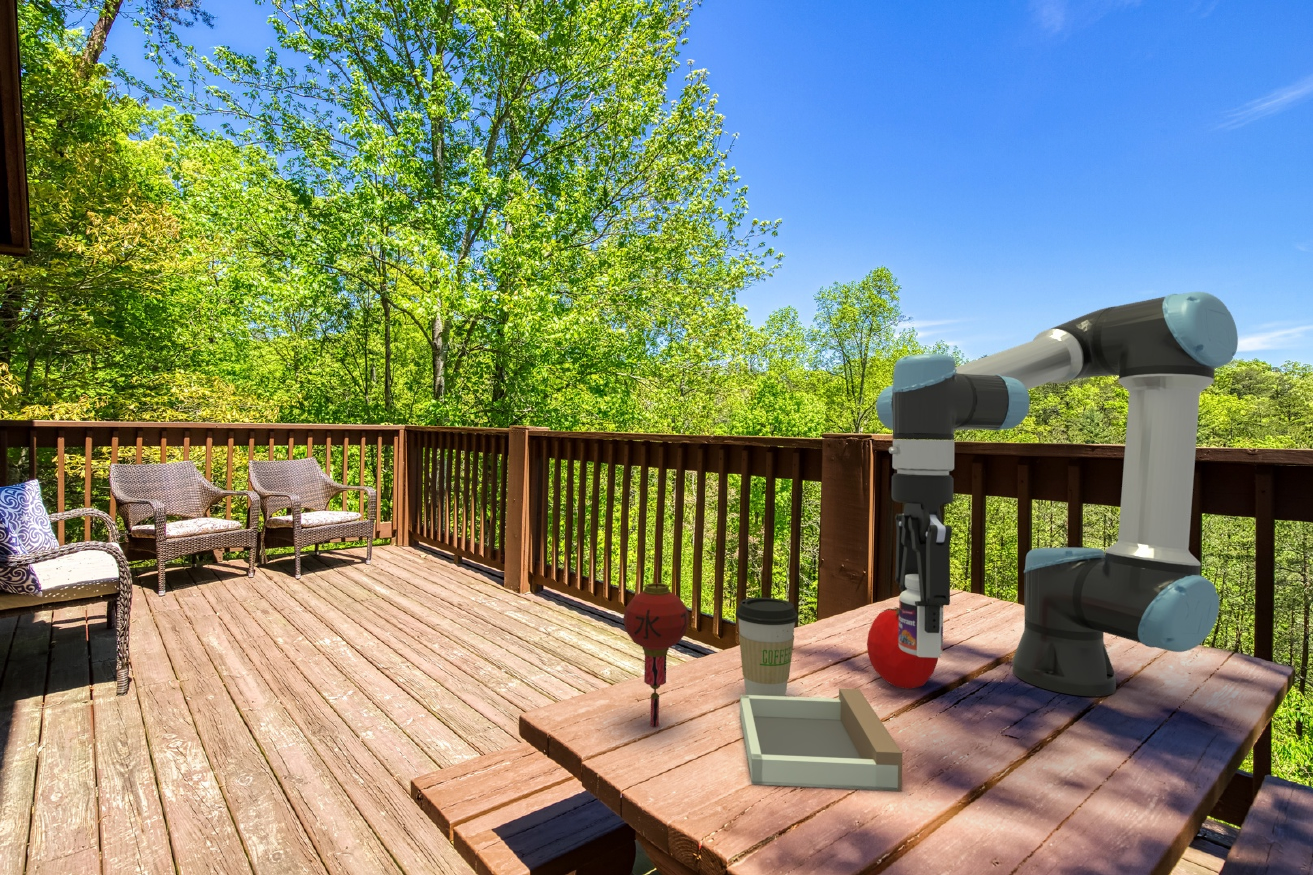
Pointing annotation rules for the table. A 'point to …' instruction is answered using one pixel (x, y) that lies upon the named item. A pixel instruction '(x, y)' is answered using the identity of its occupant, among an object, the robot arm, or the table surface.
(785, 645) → the coffee cup
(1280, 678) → the table surface
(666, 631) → the lantern
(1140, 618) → the robot arm
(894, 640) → the tomato
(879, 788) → the tray
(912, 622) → the pill bottle
